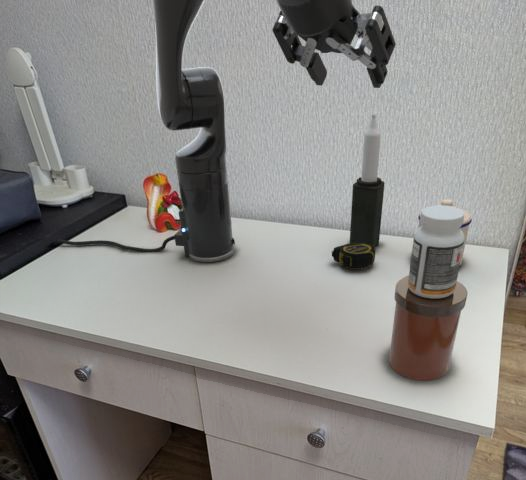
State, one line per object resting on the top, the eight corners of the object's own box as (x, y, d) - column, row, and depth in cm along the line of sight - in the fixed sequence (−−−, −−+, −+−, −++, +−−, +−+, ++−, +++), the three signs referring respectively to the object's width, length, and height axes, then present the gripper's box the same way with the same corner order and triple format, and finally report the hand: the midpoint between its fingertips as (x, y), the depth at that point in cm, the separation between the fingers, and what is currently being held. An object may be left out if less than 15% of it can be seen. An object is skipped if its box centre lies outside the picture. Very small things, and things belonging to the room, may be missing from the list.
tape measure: (361, 255, 97) (362, 237, 95) (381, 268, 92) (383, 249, 90) (331, 262, 95) (331, 244, 93) (349, 276, 90) (351, 257, 88)
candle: (371, 253, 98) (382, 116, 83) (347, 248, 100) (354, 114, 86) (380, 244, 101) (393, 110, 87) (357, 239, 104) (366, 109, 89)
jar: (384, 377, 66) (393, 302, 59) (389, 341, 73) (397, 271, 66) (451, 386, 64) (469, 309, 57) (450, 349, 70) (466, 276, 64)
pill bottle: (461, 286, 62) (478, 209, 56) (442, 305, 58) (457, 224, 52) (419, 275, 65) (430, 200, 59) (398, 292, 61) (408, 214, 55)
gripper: (380, -68, 48) (412, 56, 62) (262, -53, 55) (314, 55, 69) (351, 0, 48) (389, 109, 62) (236, 6, 55) (294, 103, 69)
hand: (350, 80), depth 65 cm, fingers open, 8 cm apart
